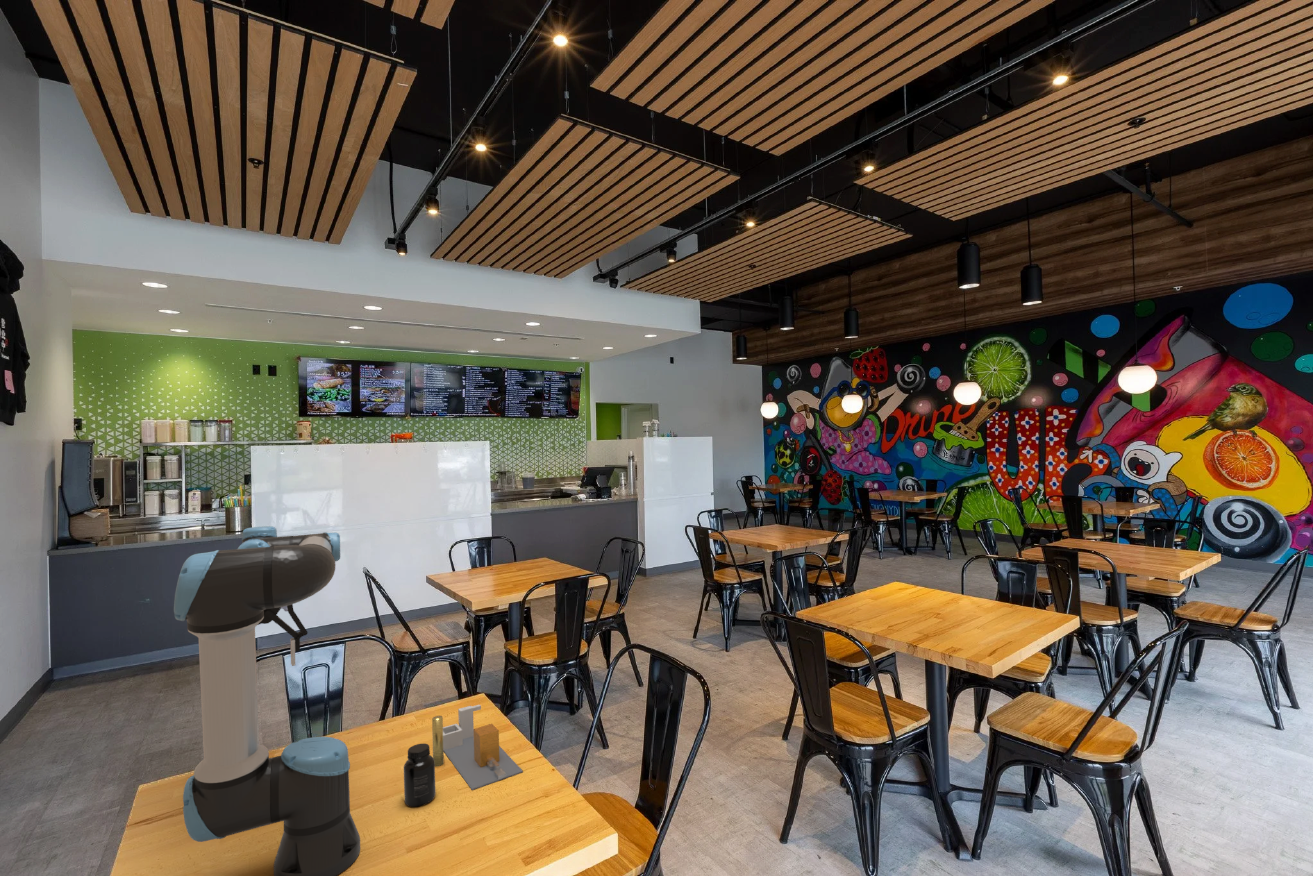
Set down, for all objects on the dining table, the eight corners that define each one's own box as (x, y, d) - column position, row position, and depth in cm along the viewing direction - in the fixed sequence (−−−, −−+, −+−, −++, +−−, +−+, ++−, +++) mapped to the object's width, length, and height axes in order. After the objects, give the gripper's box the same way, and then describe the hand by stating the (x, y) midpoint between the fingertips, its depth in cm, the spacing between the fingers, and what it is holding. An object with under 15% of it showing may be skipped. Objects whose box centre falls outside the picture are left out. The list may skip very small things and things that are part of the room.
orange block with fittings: (511, 775, 150) (510, 742, 150) (492, 781, 147) (491, 749, 147) (492, 753, 161) (491, 723, 161) (474, 759, 158) (473, 729, 159)
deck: (523, 772, 152) (522, 739, 152) (472, 790, 145) (471, 755, 145) (483, 729, 177) (482, 701, 177) (437, 743, 169) (436, 713, 169)
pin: (444, 764, 157) (443, 718, 157) (434, 767, 156) (433, 721, 156) (442, 760, 159) (441, 714, 160) (432, 763, 158) (430, 717, 158)
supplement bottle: (440, 791, 145) (439, 741, 145) (427, 808, 138) (425, 755, 138) (413, 790, 145) (412, 740, 145) (398, 807, 138) (397, 755, 139)
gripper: (314, 577, 165) (315, 656, 164) (200, 593, 150) (201, 679, 149) (318, 581, 159) (319, 662, 158) (199, 597, 144) (200, 687, 143)
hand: (262, 670), depth 154 cm, fingers open, 13 cm apart
